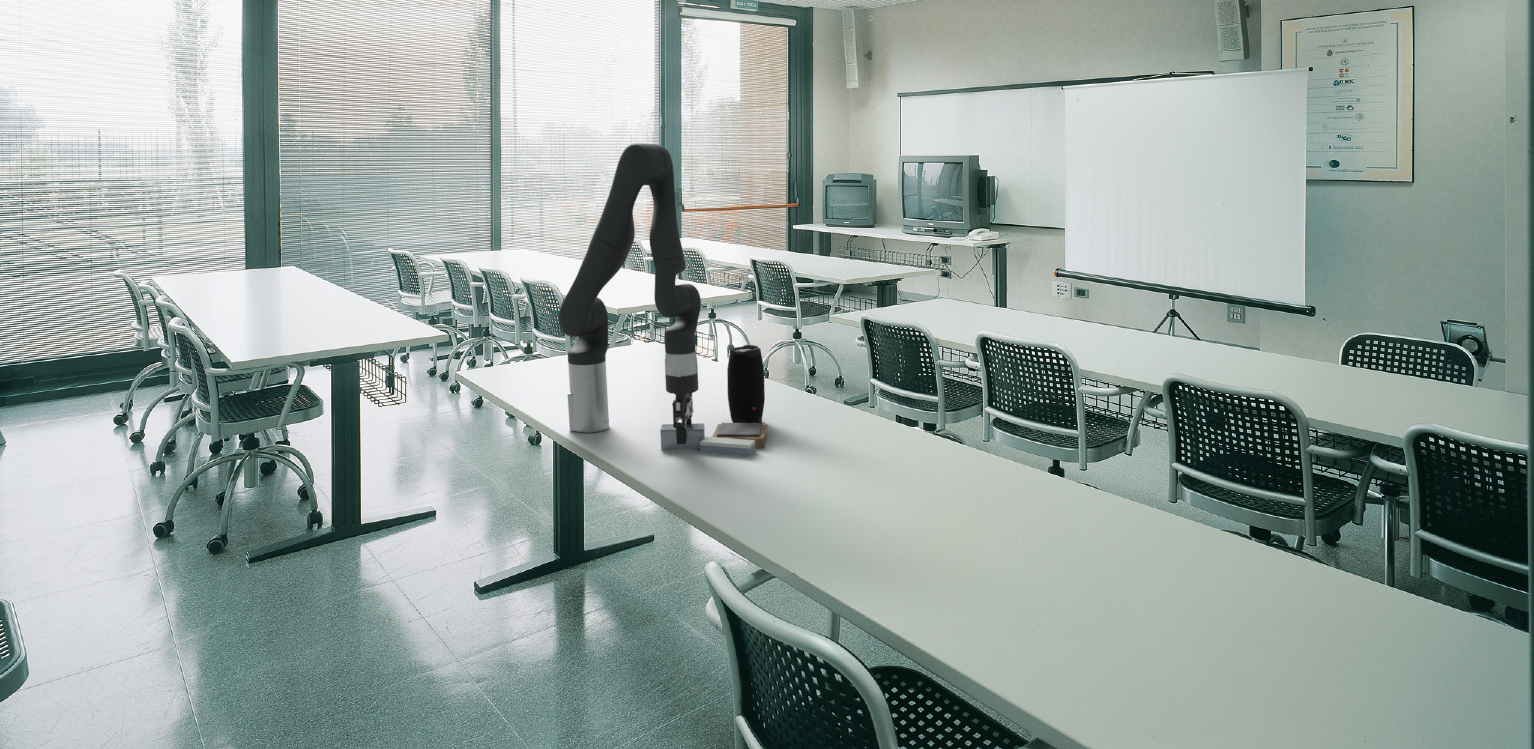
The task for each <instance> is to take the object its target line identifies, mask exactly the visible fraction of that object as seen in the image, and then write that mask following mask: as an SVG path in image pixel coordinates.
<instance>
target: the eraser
mask: <svg viewBox="0 0 1534 749" xmlns="http://www.w3.org/2000/svg"><path fill="white" fill-rule="evenodd" d="M699 451H700V452H702V453H704V454H712V453H716V455H726V456H736V455H737V456H738V455H739V456H740V457H749V458H751V456H752V455H753V454H754V453H756V448H755V440H744V439H730V438H717V437H713V436H705V438H704V439H703V440H701V441H700V449H699ZM700 452H699V453H700ZM702 453H701V454H702ZM739 456H738V457H739Z"/></svg>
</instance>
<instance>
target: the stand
mask: <svg viewBox="0 0 1534 749" xmlns="http://www.w3.org/2000/svg"><path fill="white" fill-rule="evenodd" d="M767 436H768V424H765V423H763V422H762V423H756V422H754V423H733V422H721V423H719V424H718V423H717V426H716V428H715V431H714V432H713V435H712V437H717V438H730V439H744V440H755V449H764V447H765V444H766V440H767Z"/></svg>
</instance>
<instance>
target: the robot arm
mask: <svg viewBox="0 0 1534 749" xmlns="http://www.w3.org/2000/svg"><path fill="white" fill-rule="evenodd" d="M643 186H648V187H649V191H650V193H651V196H652V202H653V204H652V205H653V213H652V217H651V218H652V219H651V224H650V229H649V247H650V252H651V256H652V261H653V266H654V270H655V271H654V292H653V293H654V298H653V299H654V304H655V307H656V309H657V311H658V312H659V314H661V316H663V317H664V318H675V317H676V319H675V322H674V324H672V325H671V326H668V327H667V328H665V331H664V352H665V354H664V375H665V376H664V378H665V391H666V392H667V393H668V394H673V395H675V398H674V400H673V401H672V419H673V420H672V422H673V423H672V424H673V426H674V428H676V439H677V444H686V442H687V439H686V426H687V425H686V424H693V422H692V418H693V416H694V415H693V413H694V405H693V404H694V403H693V393H696V392H697V391H699V374H698V373H699V371H698V370H699V369H698V358H697V352H696V350H697V349H696V331H697V329H698V328H697V327H698V323H699V322H698V321H699V317H700V313H701V307H702V300H701V299H702V298H701V294H700V293H699V290H698V289H697V287H695V286H694V285H693V284H690V283H682V284H676V279H677V275H680V274H681V273H683V272H684V271H685V270H686V259H685V254H684V252H683V246H682V242H681V237H680V233H679V232H680V231H679V226H678V219H677V216H678V215H677V205H676V204H677V203H676V192H675V190H676V189H675V175H674V165H673V160H672V156H671V154H670V152H669V150H668V149H667V148H666V147H664V146H662V145H660V144H657V143H656V144H655V143H641V142H638V143H632V144H631V143H630V144H629V145H628V146H626V147H625V148H624V150H622V153H621V155H620V157H619V159H618V162H617V165H616V169H615V172H614V176H613V180H612V184H611V187H610V191H609V193H608V197H607V199H606V202H605V205H604V207H603V210H602V212H601V215H600V218H599V220H598V223H597V224H596V227H595V229H594V232H593V235H592V237H591V239H590V242H589V245H588V247H587V251H586V253H585V255H584V258H583V260H582V263H581V265H580V267H579V269H578V272H577V275H576V277H575V279H574V280H573V282H572V285H571V286H570V288H569V290H568V292H567V293H566V295H565V297H564V299H563V300H562V303H561V305H560V308H559V309H558V317H557V322H558V326H559V328H560V330H561V331H562V333H563V334H564V335H566V336H568V337H571V338H573V337H577V341H576V342H575V344H574V345H573V346H572V347H571V348H570V349H569V351H568V352H567V364H568V381H569V382H568V383H569V384H568V385H569V392H568V394H567V404H568V405H567V407H568V408H567V409H568V418H569V419H568V422H569V423H568V424H569V431H570V432H572V431H573V432H578V433H587V434H589V433H598V432H602V431H605V430H607V429H609V428H610V417H609V398H608V381H607V380H608V379H607V377H608V376H607V362H606V361H607V360H606V358H607V357H606V355H607V351H608V348H609V315H608V310H607V308H606V305H605V303H604V301H603V300H602V299H601V298H599V297H598V296H599V294H600V293H601V292H602V290H603V288H604V287H605V286H606V285H607V284H608V283H609V282H610V281H611V280H612V279H613V278H614V276H616V275H617V273H618V272H619V271H620V270H621V268H622V267H623V266H624V265H625V262H626V261H627V258H628V256H629V254H630V250H631V249H632V246H633V244H634V241H635V237H636V234H635V230H636V229H635V221H634V206H635V203H636V201H637V198H638V196H639V194H640V192H641V189H642V188H643ZM680 420H681V422H679V421H680Z"/></svg>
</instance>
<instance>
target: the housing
mask: <svg viewBox="0 0 1534 749" xmlns="http://www.w3.org/2000/svg"><path fill="white" fill-rule="evenodd" d="M686 425H687V426H686V439H687V442H686V444H677V439H676V428H674V426H673V423H670V424H669V423H667V424H666V423H662V424H661V426H660V450H661V451H678V450H677V449H687V450H700V441H701V440H703V439H704V438H705V437H706V436H705V423H704V422H703V423H702V422H701V423H692V424H686ZM673 449H674V450H673Z"/></svg>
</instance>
